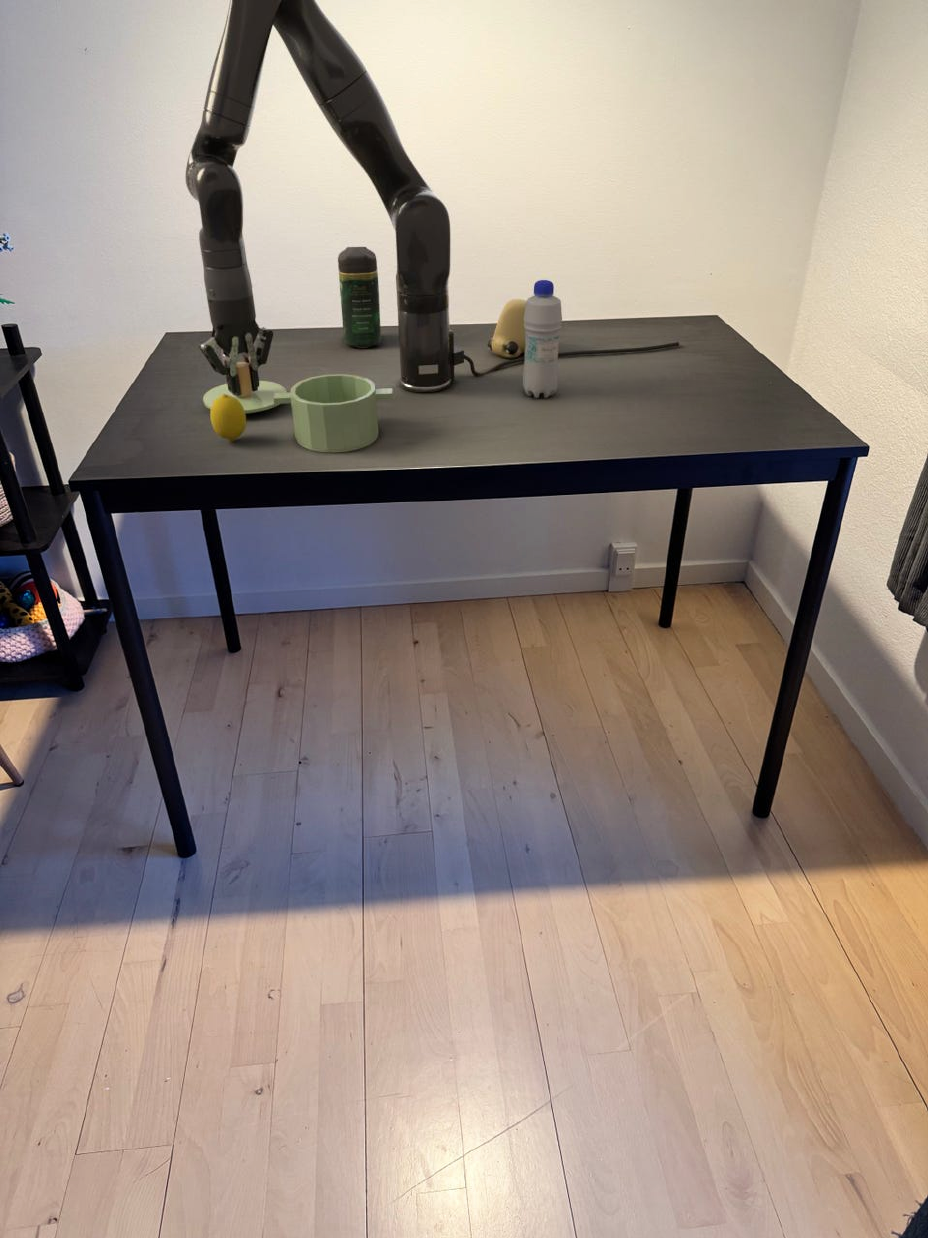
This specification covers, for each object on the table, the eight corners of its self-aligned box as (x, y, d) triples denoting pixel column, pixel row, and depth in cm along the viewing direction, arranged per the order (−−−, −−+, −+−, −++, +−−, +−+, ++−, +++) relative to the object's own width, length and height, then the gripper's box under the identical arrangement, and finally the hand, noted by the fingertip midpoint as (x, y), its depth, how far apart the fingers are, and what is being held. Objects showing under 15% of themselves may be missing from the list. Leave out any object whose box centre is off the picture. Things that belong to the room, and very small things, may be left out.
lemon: (241, 449, 143) (233, 401, 138) (209, 446, 144) (200, 399, 139) (254, 435, 147) (247, 389, 143) (223, 433, 148) (215, 386, 144)
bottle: (533, 403, 158) (537, 287, 147) (514, 390, 163) (517, 278, 152) (565, 396, 161) (572, 282, 149) (545, 384, 166) (550, 273, 154)
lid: (210, 387, 164) (204, 351, 160) (290, 385, 165) (285, 349, 161) (198, 418, 152) (191, 380, 148) (284, 415, 153) (279, 377, 149)
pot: (282, 421, 152) (276, 376, 148) (393, 417, 154) (391, 371, 149) (276, 455, 141) (269, 407, 136) (396, 449, 142) (393, 402, 138)
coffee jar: (382, 348, 184) (377, 253, 173) (344, 350, 183) (336, 255, 172) (380, 334, 191) (375, 242, 181) (343, 335, 191) (336, 243, 180)
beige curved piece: (499, 364, 186) (469, 338, 177) (527, 313, 185) (499, 284, 177) (532, 375, 179) (502, 348, 171) (561, 322, 178) (533, 292, 170)
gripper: (254, 280, 153) (267, 377, 163) (180, 295, 146) (198, 396, 156) (277, 288, 149) (289, 388, 159) (202, 304, 141) (220, 408, 151)
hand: (244, 391), depth 157 cm, fingers closed on lid, 3 cm apart
